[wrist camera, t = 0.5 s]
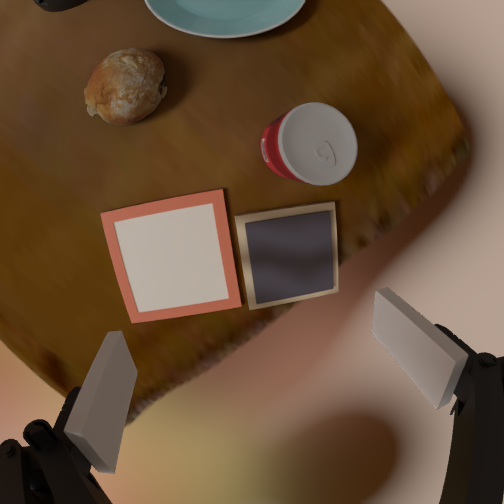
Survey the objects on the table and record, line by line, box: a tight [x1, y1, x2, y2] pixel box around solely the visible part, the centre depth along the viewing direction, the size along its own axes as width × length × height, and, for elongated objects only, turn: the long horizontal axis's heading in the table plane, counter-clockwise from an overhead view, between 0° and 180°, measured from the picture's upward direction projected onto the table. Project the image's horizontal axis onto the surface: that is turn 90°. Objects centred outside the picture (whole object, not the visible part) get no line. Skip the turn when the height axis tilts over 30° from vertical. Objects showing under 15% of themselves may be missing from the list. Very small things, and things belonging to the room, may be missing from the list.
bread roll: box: [84, 48, 167, 126], centre depth 28 cm, size 10×10×8 cm
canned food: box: [260, 103, 358, 185], centre depth 30 cm, size 8×8×11 cm
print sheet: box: [101, 189, 242, 323], centre depth 37 cm, size 16×16×1 cm
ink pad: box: [235, 201, 339, 310], centre depth 38 cm, size 13×13×2 cm
